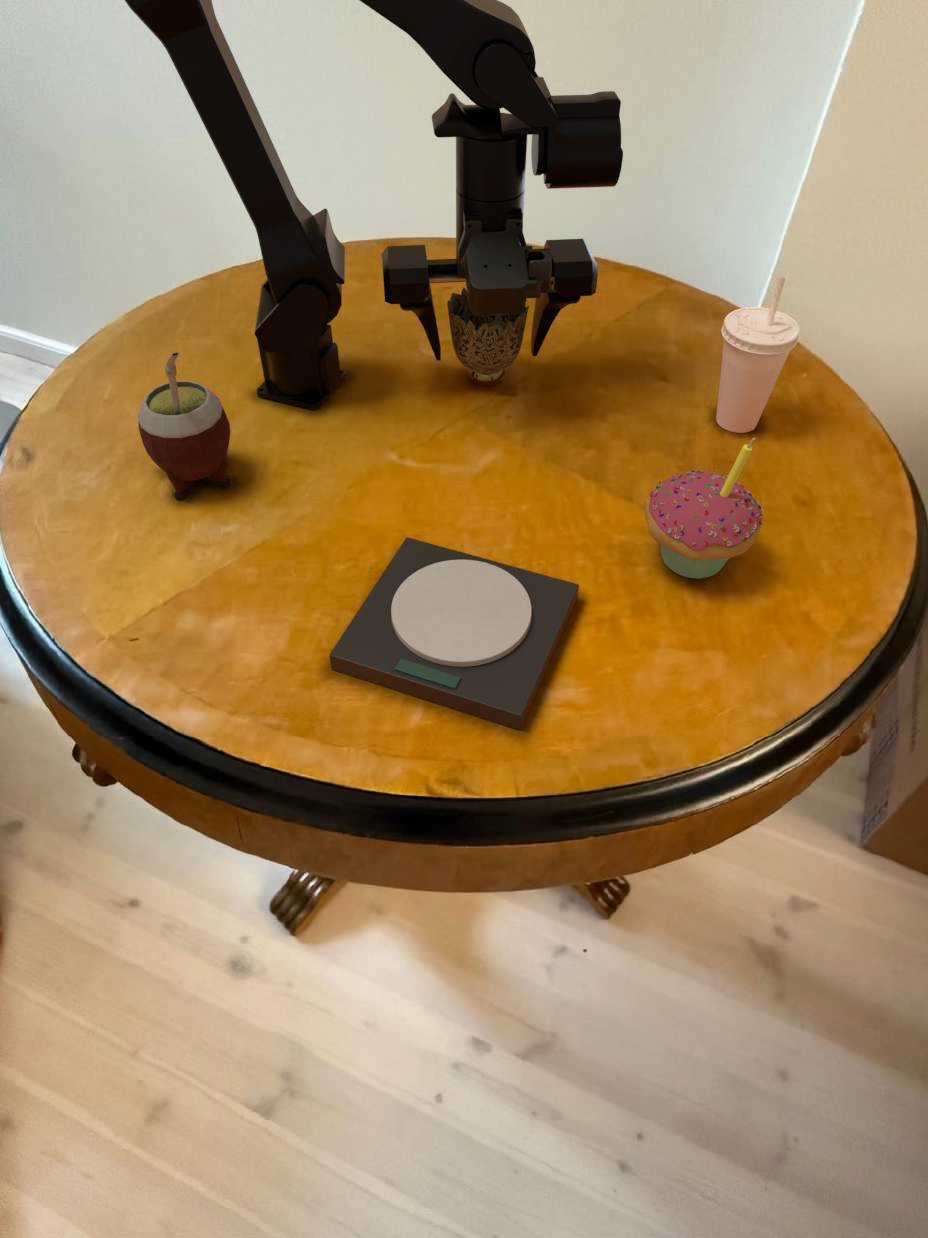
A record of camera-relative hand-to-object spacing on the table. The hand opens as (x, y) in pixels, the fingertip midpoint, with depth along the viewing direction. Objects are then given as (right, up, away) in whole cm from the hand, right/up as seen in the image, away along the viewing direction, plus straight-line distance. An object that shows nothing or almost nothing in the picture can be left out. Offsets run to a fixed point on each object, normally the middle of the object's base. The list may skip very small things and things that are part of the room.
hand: (486, 356), depth 86 cm
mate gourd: (-25, -13, -9) cm, 29 cm away
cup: (0, -2, +2) cm, 3 cm away
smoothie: (+23, -7, -3) cm, 24 cm away
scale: (-2, -26, -21) cm, 34 cm away
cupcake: (+16, -21, -15) cm, 30 cm away
